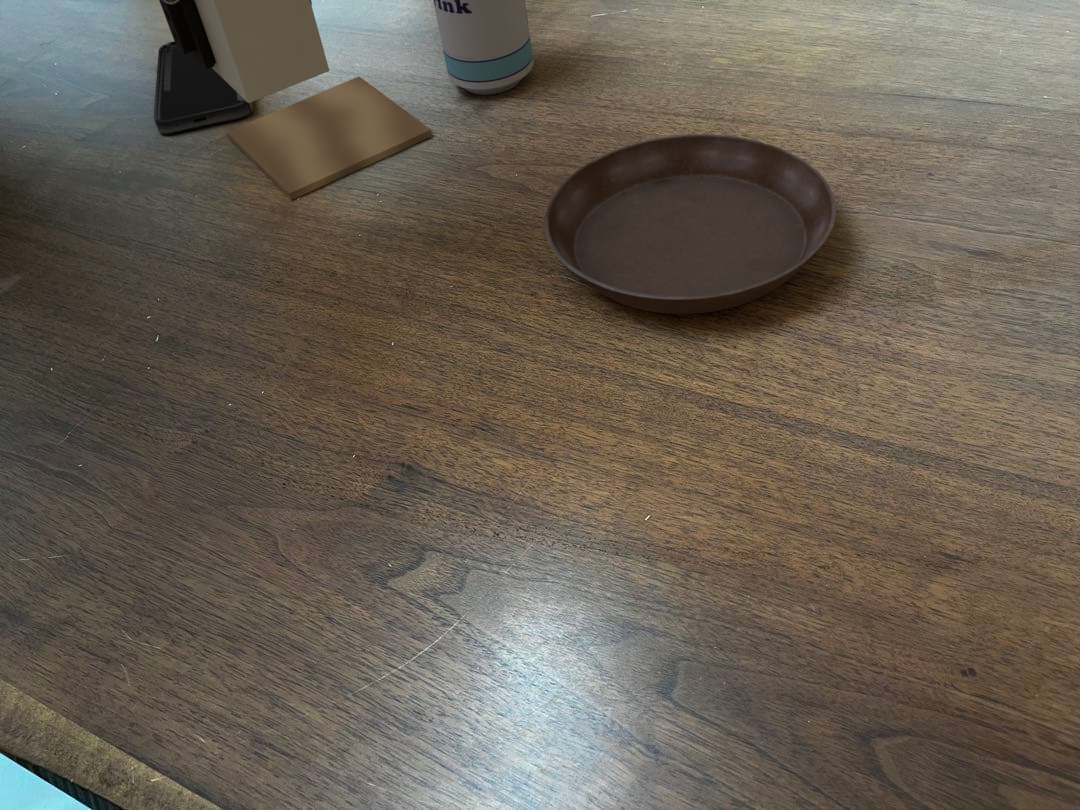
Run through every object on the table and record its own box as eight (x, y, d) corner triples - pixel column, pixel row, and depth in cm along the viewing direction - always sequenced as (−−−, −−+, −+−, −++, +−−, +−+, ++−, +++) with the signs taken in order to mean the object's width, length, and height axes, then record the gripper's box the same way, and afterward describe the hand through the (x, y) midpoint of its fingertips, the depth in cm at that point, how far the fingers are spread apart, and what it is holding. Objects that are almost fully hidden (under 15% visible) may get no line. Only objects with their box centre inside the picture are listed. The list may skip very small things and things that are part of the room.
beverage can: (433, 83, 88) (402, -65, 80) (499, 50, 91) (475, -97, 83) (485, 110, 84) (458, -44, 76) (552, 75, 87) (533, -78, 79)
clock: (333, 70, 61) (304, -36, 57) (248, 103, 59) (212, -3, 55) (259, 9, 68) (228, -89, 64) (181, 38, 66) (144, -61, 62)
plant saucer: (605, 156, 77) (602, 118, 75) (858, 185, 71) (862, 144, 69) (506, 312, 66) (498, 272, 64) (795, 362, 60) (797, 320, 58)
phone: (244, 26, 98) (249, 103, 87) (248, 37, 99) (253, 115, 88) (157, 44, 97) (151, 124, 87) (162, 56, 98) (156, 137, 87)
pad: (291, 200, 78) (289, 193, 78) (228, 138, 86) (226, 131, 86) (432, 136, 82) (431, 129, 82) (360, 82, 90) (359, 76, 90)
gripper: (-36, -267, 45) (130, 120, 58) (330, -360, 51) (408, 12, 63) (-69, -291, 50) (90, 72, 63) (268, -373, 56) (352, -25, 68)
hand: (249, 38), depth 63 cm, fingers closed on clock, 5 cm apart
